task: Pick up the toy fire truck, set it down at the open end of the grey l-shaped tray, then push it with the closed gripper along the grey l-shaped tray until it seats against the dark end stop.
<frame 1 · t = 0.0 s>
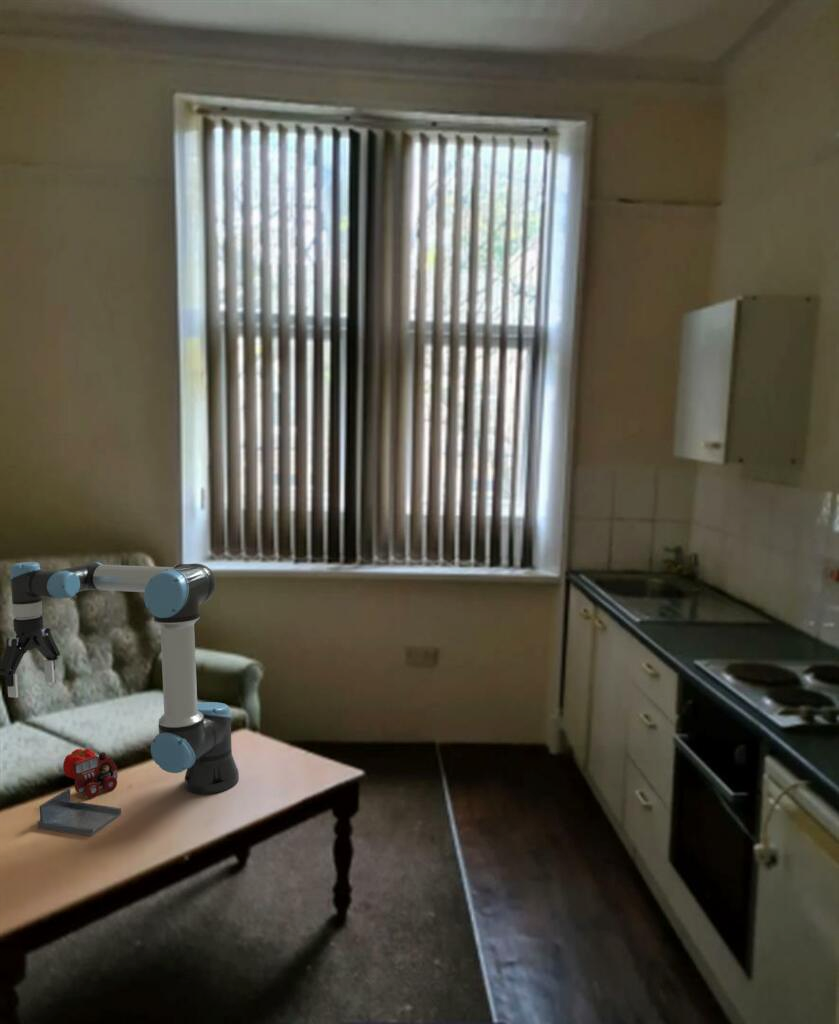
hand: (32, 689, 215), 28 cm above the table, fingers open, 13 cm apart
tomato: (81, 777, 222), on the table
toy fire truck: (96, 791, 213), on the table
grey l-shaped tray: (80, 821, 195), on the table
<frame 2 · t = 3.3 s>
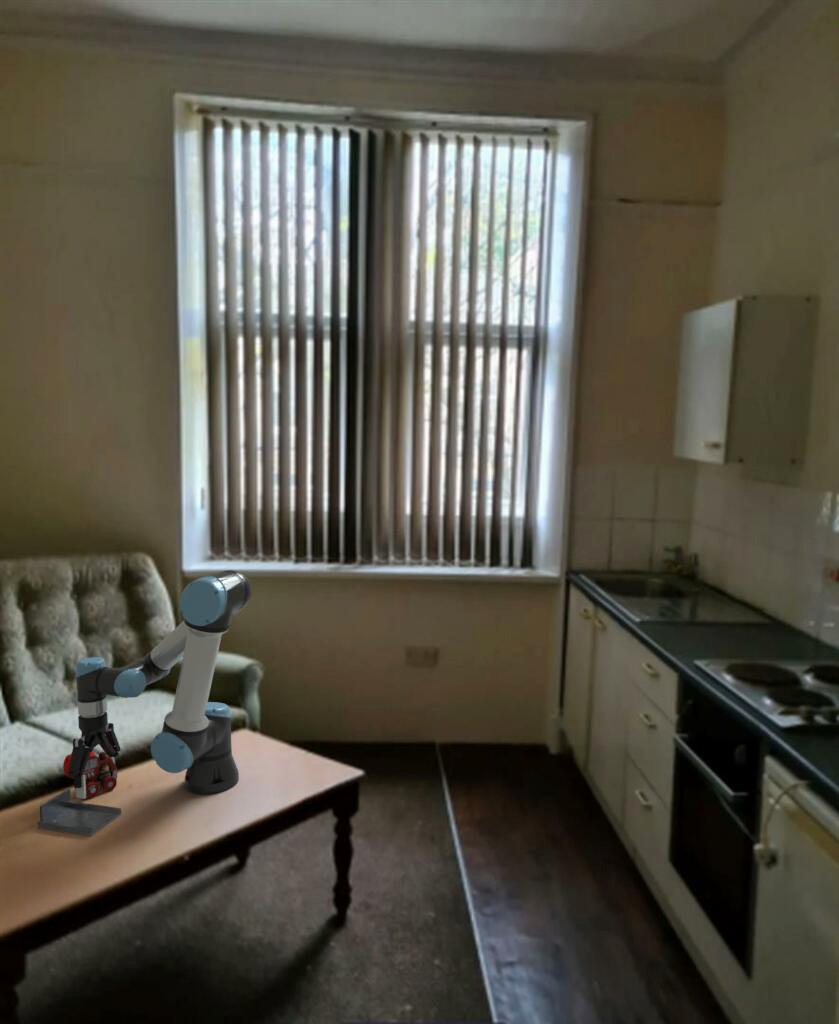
hand: (96, 788, 212), 1 cm above the table, fingers closed on toy fire truck, 11 cm apart
toy fire truck: (96, 791, 212), on the table, touching gripper
everything else where it was.
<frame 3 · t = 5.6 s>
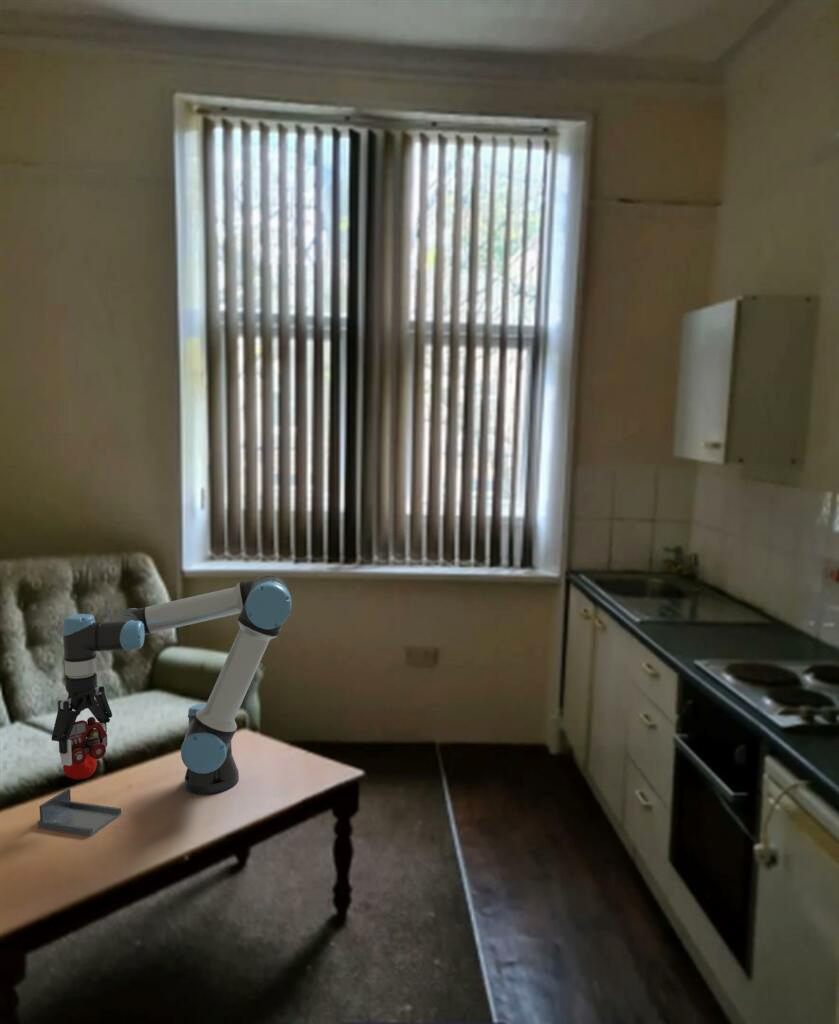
hand: (84, 755, 197), 16 cm above the table, fingers closed on toy fire truck, 11 cm apart
toy fire truck: (84, 759, 197), point 15 cm above the table, touching gripper
everything else where it was.
when the fingers open (4 cm above the table, at t = 7.9 s): toy fire truck drops 2 cm, resting on grey l-shaped tray.
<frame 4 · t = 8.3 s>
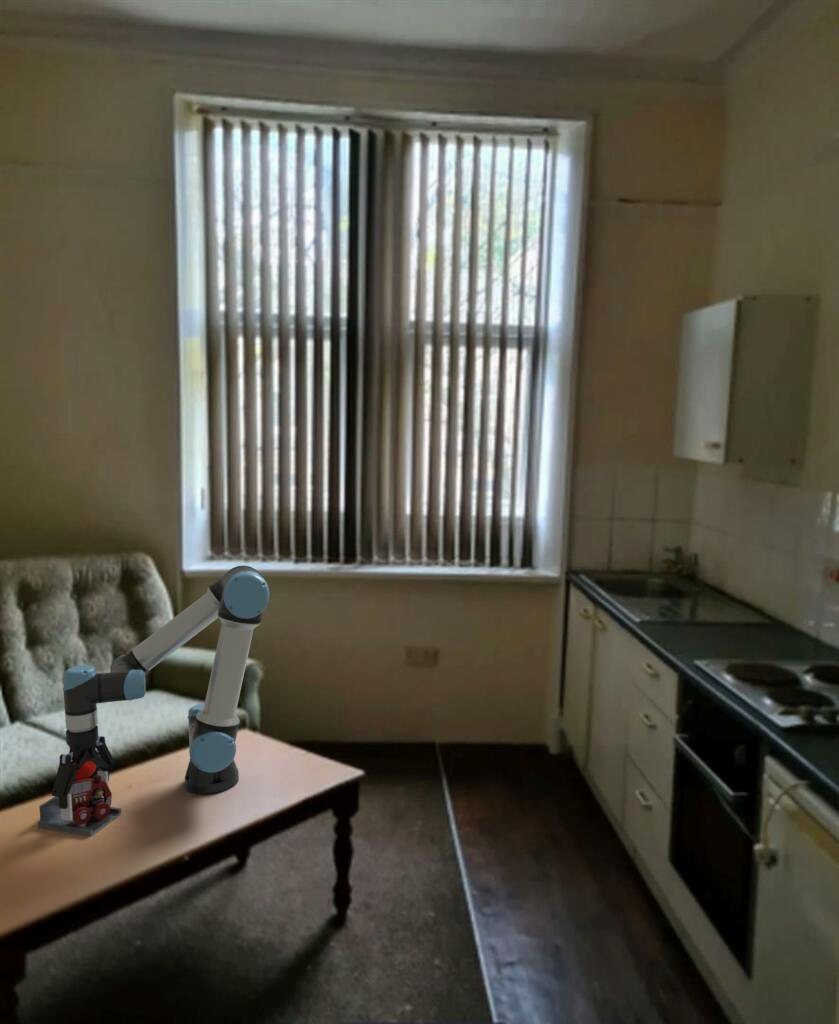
hand: (86, 806, 194), 4 cm above the table, fingers open, 13 cm apart
toy fire truck: (87, 818, 194), point 1 cm above the table, touching grey l-shaped tray
everything else where it was.
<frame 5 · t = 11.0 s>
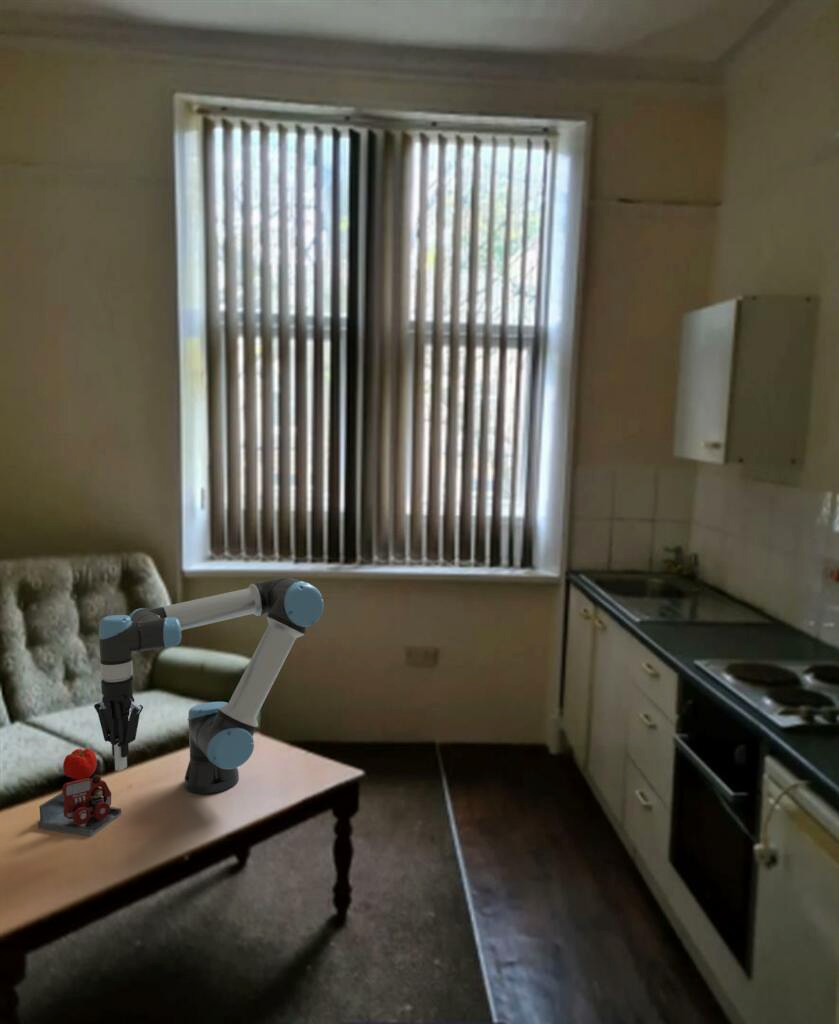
hand: (121, 768, 190), 16 cm above the table, fingers closed
nothing on the table moved.
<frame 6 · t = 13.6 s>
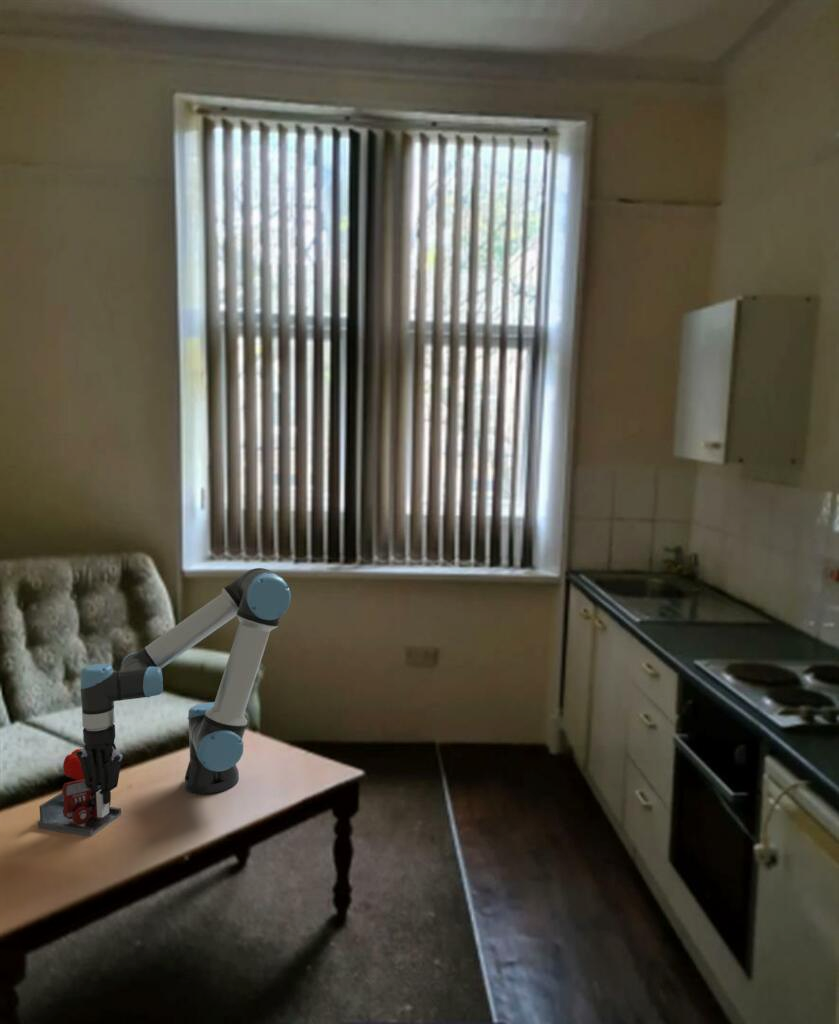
hand: (103, 814, 193), 3 cm above the table, fingers closed
toy fire truck: (86, 818, 194), point 1 cm above the table, touching grey l-shaped tray, gripper
everything else where it was.
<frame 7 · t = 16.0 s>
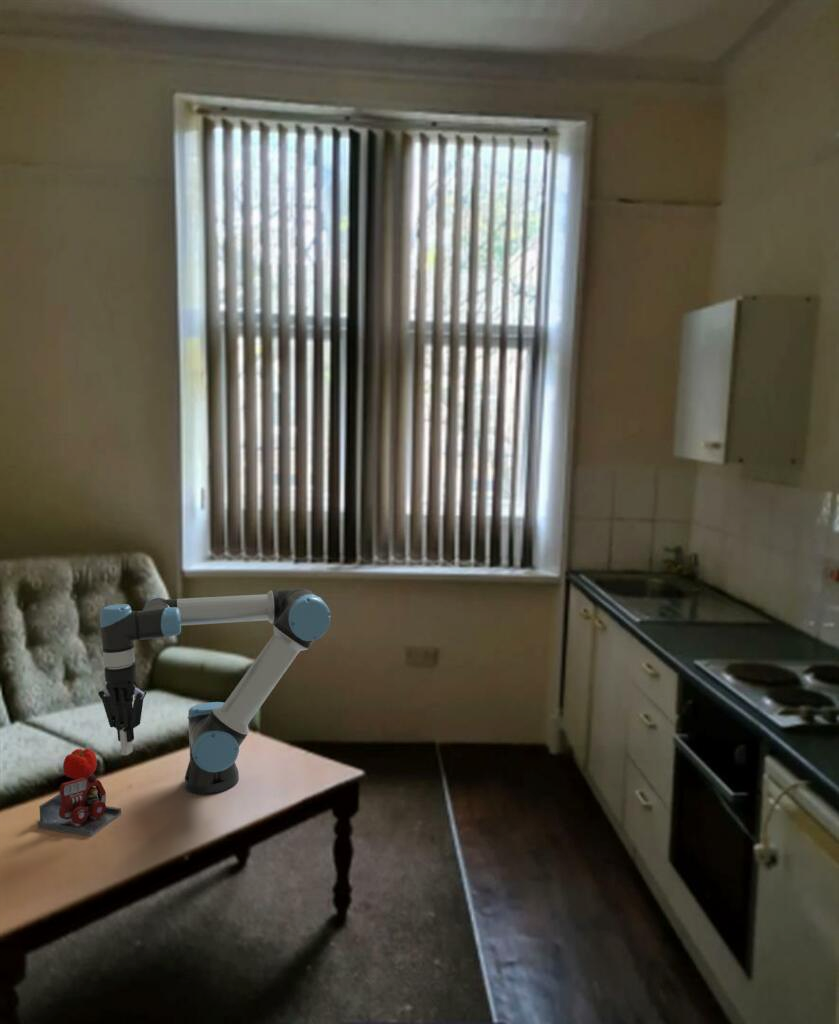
hand: (127, 752, 195), 17 cm above the table, fingers closed
toy fire truck: (83, 818, 194), point 1 cm above the table, touching grey l-shaped tray
everything else where it was.
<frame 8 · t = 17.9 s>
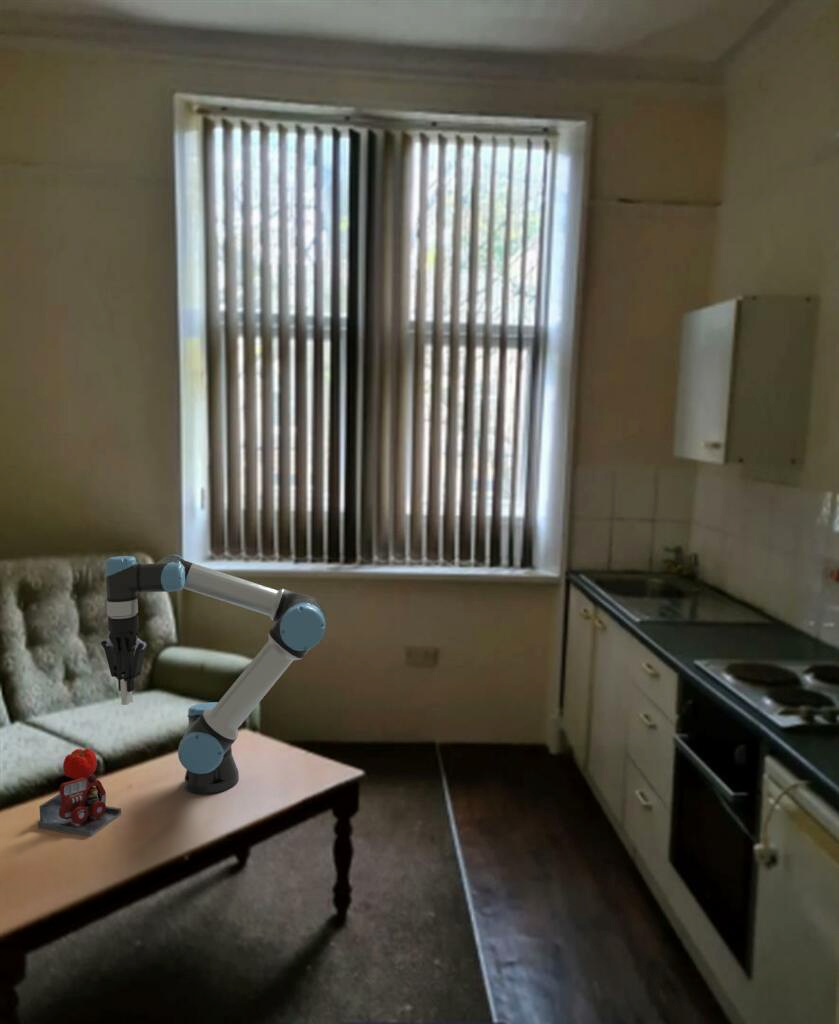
hand: (127, 702, 199), 29 cm above the table, fingers closed
nothing on the table moved.
at the end: toy fire truck 2.4 cm from the target spot on the grey l-shaped tray, point 1.1 cm above the grey l-shaped tray's base; toy fire truck tilted 6°; the gripper is holding nothing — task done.
